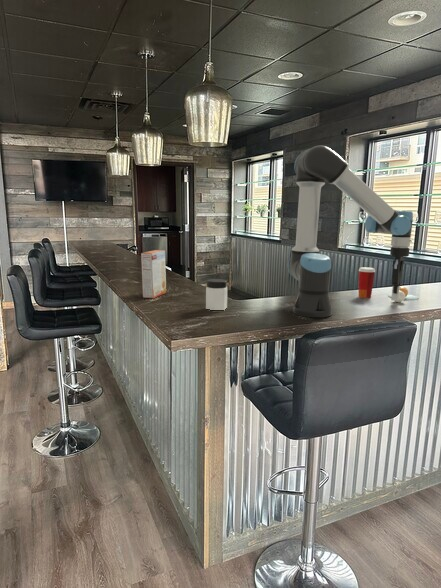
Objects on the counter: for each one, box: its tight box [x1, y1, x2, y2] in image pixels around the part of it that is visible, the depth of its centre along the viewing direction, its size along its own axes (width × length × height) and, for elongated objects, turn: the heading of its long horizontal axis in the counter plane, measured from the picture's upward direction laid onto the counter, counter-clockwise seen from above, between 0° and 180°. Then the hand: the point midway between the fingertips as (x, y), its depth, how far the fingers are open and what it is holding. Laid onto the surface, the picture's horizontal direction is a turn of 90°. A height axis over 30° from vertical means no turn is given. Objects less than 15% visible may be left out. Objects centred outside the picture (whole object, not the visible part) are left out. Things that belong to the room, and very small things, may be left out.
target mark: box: [386, 293, 420, 301], centre depth 200 cm, size 14×14×1 cm
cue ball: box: [394, 290, 405, 303], centre depth 187 cm, size 6×6×6 cm
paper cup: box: [357, 266, 376, 299], centre depth 197 cm, size 8×8×14 cm
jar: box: [205, 278, 228, 311], centre depth 169 cm, size 9×8×12 cm
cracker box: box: [140, 249, 167, 299], centre depth 193 cm, size 14×6×21 cm, turn 162°
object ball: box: [399, 286, 409, 297], centre depth 196 cm, size 6×6×6 cm
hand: (394, 300), depth 183 cm, fingers closed
